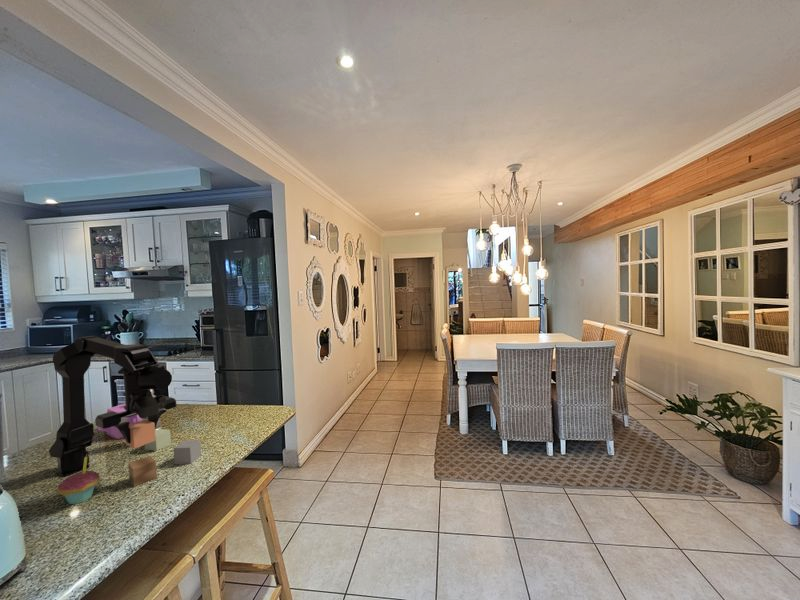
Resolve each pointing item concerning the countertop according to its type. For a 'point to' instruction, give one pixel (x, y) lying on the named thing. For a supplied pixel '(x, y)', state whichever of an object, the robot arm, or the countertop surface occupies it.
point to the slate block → (187, 452)
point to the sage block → (159, 440)
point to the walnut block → (142, 471)
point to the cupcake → (79, 485)
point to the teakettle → (115, 431)
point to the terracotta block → (141, 433)
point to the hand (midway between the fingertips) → (140, 439)
